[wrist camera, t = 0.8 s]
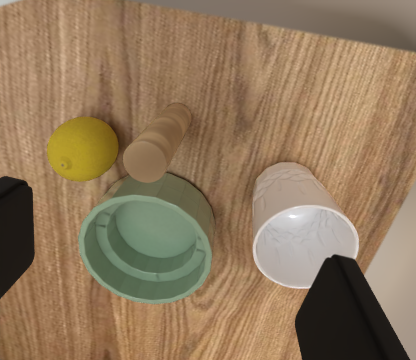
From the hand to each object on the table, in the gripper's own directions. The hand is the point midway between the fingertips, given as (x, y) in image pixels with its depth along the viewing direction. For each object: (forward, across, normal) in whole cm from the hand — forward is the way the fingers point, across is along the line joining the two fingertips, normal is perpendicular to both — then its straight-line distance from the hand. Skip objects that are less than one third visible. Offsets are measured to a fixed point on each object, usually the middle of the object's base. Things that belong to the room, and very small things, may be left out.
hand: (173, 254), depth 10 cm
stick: (+22, +3, +2) cm, 22 cm away
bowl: (+22, +3, +14) cm, 26 cm away
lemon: (+22, +11, +5) cm, 25 cm away
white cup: (+22, -9, +6) cm, 24 cm away
